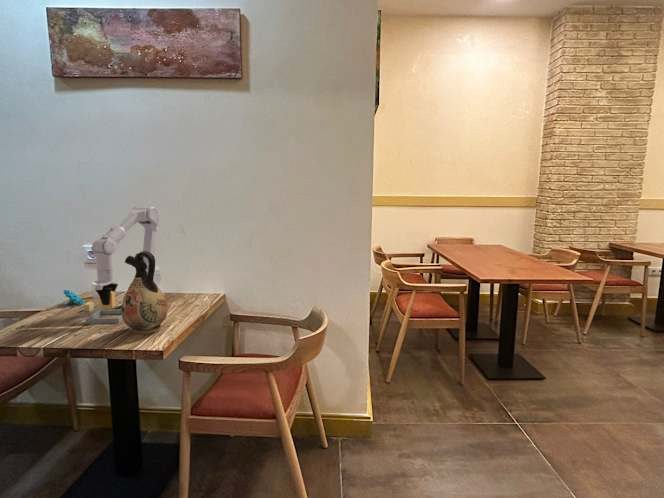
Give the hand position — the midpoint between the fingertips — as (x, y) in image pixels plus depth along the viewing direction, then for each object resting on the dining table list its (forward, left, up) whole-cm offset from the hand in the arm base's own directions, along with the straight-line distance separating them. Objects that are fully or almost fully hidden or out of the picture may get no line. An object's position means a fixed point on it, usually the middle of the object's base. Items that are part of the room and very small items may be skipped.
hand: (108, 303), depth 159 cm
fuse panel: (+9, -12, -7) cm, 16 cm away
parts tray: (0, 0, -7) cm, 7 cm away
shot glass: (+19, -37, -7) cm, 42 cm away
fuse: (0, 0, -1) cm, 1 cm away
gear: (+24, -23, -7) cm, 34 cm away
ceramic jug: (-19, +14, -7) cm, 25 cm away
